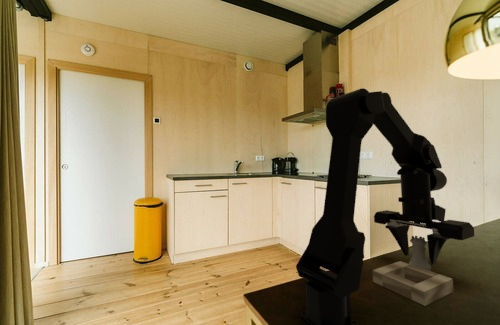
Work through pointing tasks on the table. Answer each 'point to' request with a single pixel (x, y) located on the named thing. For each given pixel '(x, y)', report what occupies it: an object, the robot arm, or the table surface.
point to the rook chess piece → (419, 253)
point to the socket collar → (421, 292)
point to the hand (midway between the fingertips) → (419, 259)
